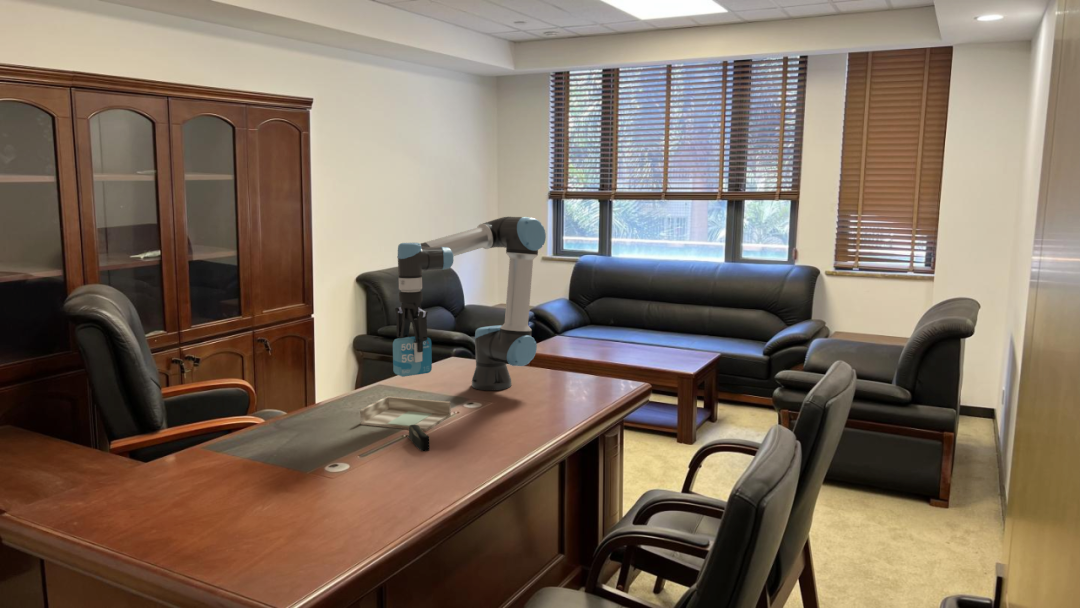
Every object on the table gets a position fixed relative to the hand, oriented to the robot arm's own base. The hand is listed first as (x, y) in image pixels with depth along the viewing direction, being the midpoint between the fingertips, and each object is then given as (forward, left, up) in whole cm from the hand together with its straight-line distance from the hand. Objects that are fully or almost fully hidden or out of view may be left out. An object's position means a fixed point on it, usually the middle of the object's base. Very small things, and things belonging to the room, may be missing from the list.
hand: (412, 360), depth 255 cm
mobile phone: (+24, +14, -20) cm, 34 cm away
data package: (0, 0, -5) cm, 5 cm away
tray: (+4, -1, -19) cm, 20 cm away
